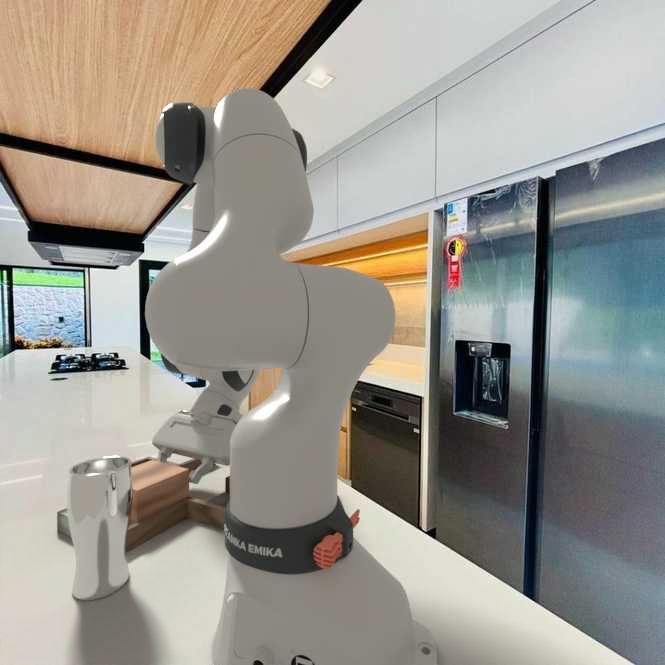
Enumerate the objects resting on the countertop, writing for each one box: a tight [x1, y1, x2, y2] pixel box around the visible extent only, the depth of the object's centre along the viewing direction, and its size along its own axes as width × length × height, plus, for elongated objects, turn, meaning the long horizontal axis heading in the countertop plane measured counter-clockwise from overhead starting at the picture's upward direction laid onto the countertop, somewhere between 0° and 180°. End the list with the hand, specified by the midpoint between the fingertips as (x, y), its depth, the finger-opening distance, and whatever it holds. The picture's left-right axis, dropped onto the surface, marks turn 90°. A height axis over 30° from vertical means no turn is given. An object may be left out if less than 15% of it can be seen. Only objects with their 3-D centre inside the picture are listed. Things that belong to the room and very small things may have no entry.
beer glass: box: [66, 455, 133, 601], centre depth 46 cm, size 7×7×15 cm
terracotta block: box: [129, 460, 190, 526], centre depth 64 cm, size 10×10×7 cm
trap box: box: [56, 456, 230, 553], centre depth 70 cm, size 35×33×3 cm
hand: (173, 477), depth 69 cm, fingers open, 8 cm apart
